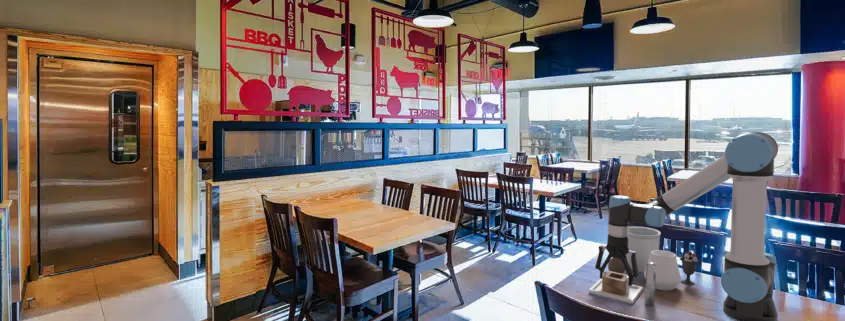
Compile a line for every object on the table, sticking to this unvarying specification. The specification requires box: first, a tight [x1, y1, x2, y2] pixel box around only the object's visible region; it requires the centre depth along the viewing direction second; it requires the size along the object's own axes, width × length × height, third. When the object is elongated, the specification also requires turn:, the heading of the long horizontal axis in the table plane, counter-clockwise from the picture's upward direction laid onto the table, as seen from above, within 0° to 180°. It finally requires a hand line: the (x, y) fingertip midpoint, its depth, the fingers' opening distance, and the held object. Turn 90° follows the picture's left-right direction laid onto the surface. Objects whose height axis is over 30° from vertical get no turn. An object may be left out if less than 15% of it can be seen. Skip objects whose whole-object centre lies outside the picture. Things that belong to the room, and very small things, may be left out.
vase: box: [607, 257, 626, 274], centre depth 185 cm, size 7×7×9 cm
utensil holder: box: [626, 226, 662, 273], centre depth 193 cm, size 15×15×18 cm
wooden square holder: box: [602, 270, 628, 296], centre depth 167 cm, size 8×8×6 cm
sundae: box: [679, 248, 700, 286], centre depth 175 cm, size 7×7×15 cm
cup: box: [643, 249, 682, 291], centre depth 172 cm, size 13×13×14 cm
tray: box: [588, 278, 644, 305], centre depth 167 cm, size 16×16×2 cm
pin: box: [644, 262, 657, 307], centre depth 155 cm, size 3×3×16 cm
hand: (615, 289), depth 168 cm, fingers open, 8 cm apart
